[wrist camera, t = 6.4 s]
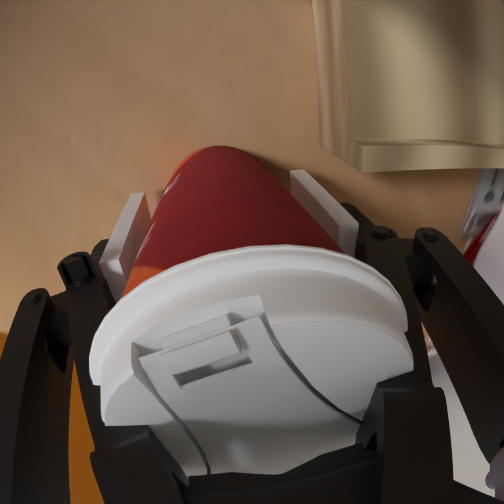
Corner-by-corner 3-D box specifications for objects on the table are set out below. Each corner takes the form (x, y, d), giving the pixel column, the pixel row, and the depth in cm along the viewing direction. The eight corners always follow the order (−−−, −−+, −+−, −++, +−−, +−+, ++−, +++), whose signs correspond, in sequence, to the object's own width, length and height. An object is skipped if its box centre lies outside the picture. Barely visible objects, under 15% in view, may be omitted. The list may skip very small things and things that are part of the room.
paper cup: (126, 162, 16) (1, 380, 4) (258, 104, 15) (446, 210, 4) (187, 271, 20) (197, 499, 8) (300, 225, 20) (419, 427, 8)
